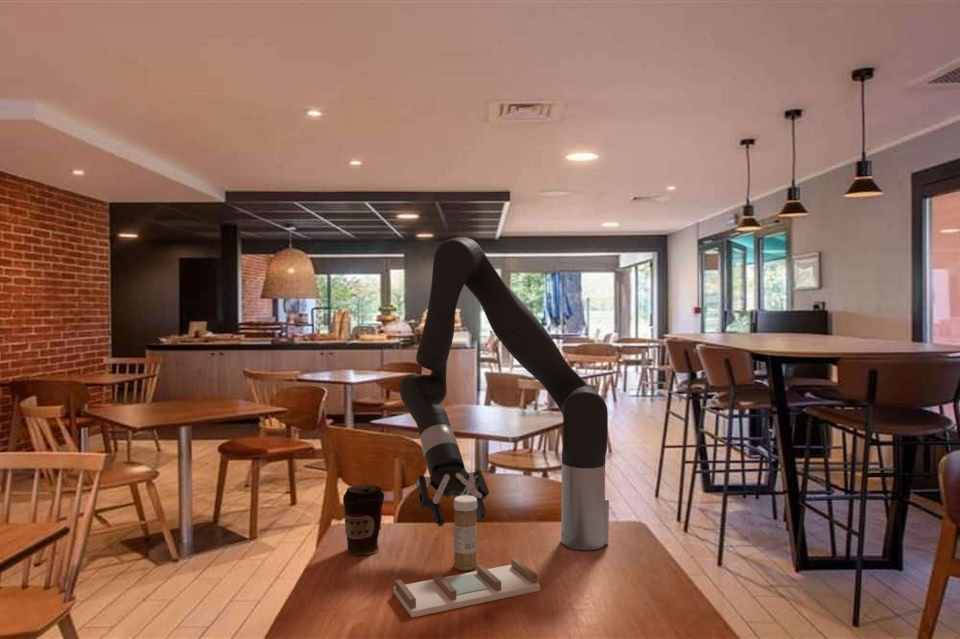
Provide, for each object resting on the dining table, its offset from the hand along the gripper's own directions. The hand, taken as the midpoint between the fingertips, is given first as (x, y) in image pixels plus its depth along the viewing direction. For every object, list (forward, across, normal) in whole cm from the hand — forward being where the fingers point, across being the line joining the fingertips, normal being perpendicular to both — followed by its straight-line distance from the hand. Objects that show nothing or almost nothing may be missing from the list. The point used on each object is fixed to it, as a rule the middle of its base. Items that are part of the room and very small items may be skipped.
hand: (462, 521), depth 125 cm
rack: (+14, -4, -2) cm, 15 cm away
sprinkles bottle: (+7, 0, +5) cm, 9 cm away
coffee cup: (-4, -16, +16) cm, 23 cm away
